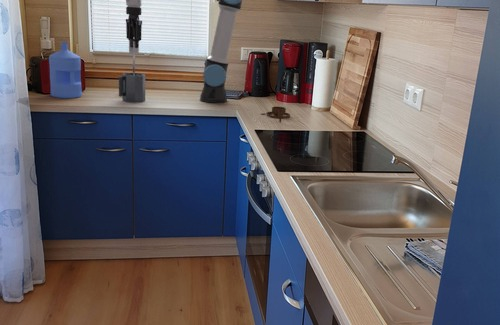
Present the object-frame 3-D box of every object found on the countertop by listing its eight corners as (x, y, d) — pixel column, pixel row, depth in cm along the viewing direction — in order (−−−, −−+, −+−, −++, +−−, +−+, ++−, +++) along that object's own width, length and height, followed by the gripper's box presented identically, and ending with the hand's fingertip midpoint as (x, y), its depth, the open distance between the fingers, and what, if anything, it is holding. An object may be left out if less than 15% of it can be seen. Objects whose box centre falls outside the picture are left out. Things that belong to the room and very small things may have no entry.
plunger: (137, 77, 272) (137, 38, 266) (144, 79, 266) (144, 39, 260) (123, 78, 267) (123, 38, 261) (130, 80, 261) (130, 39, 255)
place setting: (299, 118, 258) (300, 106, 257) (282, 124, 241) (283, 112, 240) (268, 112, 266) (269, 101, 264) (250, 118, 249) (250, 107, 247)
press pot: (138, 98, 278) (138, 72, 273) (148, 102, 270) (148, 75, 265) (114, 99, 269) (114, 73, 265) (124, 103, 261) (124, 76, 257)
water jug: (45, 94, 270) (42, 40, 261) (72, 92, 281) (70, 40, 273) (60, 99, 260) (57, 43, 252) (87, 97, 272) (86, 43, 263)
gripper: (119, 5, 260) (119, 52, 267) (135, 7, 247) (135, 55, 254) (132, 6, 265) (132, 52, 271) (148, 7, 252) (148, 55, 259)
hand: (133, 53), depth 263 cm, fingers closed on plunger, 4 cm apart
